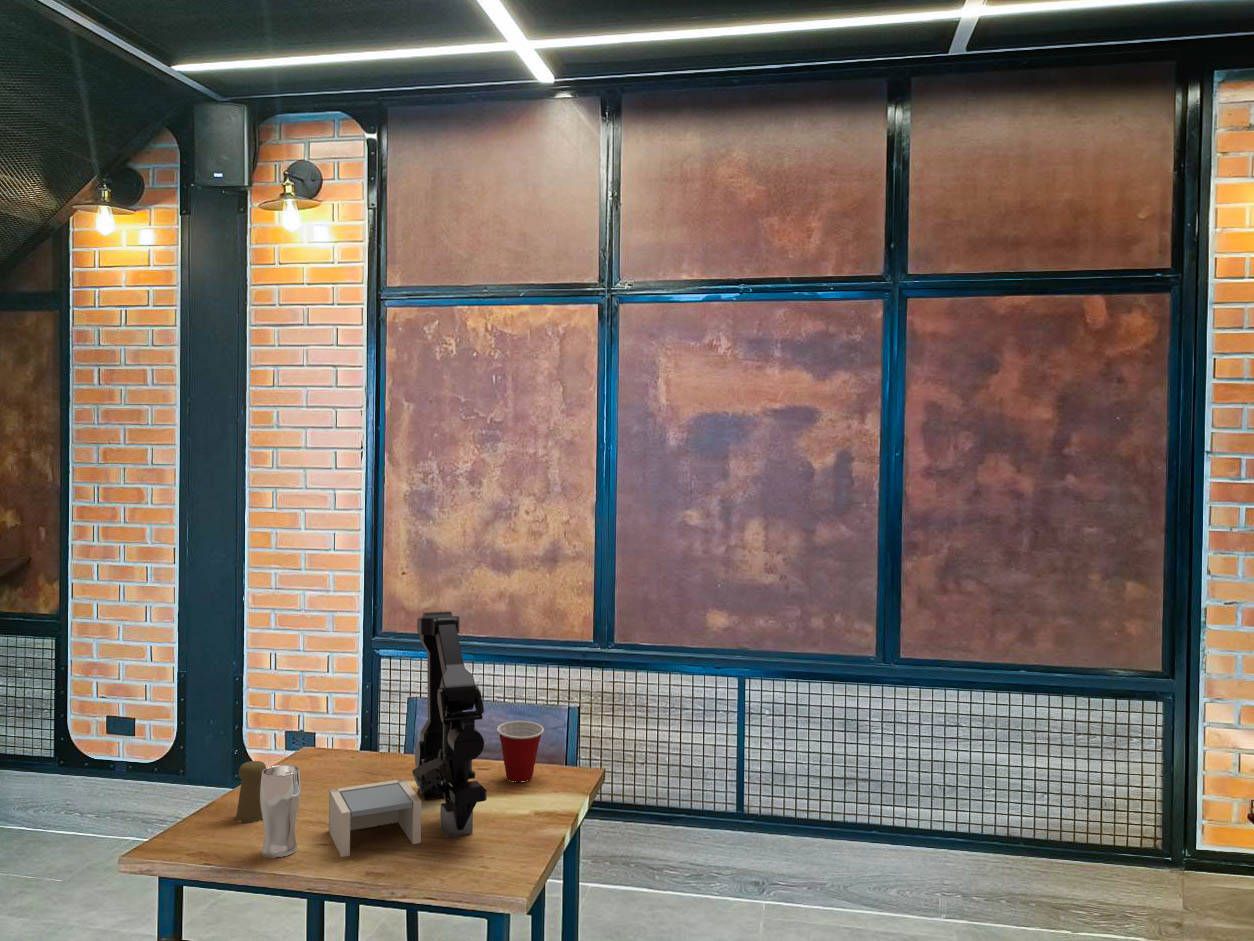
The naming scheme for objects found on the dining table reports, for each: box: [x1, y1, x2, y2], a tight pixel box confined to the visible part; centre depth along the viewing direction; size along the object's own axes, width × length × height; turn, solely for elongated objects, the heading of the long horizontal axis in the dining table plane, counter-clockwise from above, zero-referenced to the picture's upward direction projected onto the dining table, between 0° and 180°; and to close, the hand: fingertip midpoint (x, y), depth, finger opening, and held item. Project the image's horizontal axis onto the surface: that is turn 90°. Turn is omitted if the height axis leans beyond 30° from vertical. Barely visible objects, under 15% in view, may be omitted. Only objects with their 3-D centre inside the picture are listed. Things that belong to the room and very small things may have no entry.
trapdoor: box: [341, 784, 412, 817], centre depth 172 cm, size 12×11×1 cm
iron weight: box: [439, 802, 474, 839], centre depth 176 cm, size 5×5×5 cm
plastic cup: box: [496, 720, 545, 783], centre depth 206 cm, size 11×11×12 cm
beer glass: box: [260, 764, 301, 858], centre depth 165 cm, size 7×7×15 cm
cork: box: [235, 760, 267, 823], centre depth 181 cm, size 6×6×11 cm
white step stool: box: [328, 778, 422, 858], centre depth 172 cm, size 14×15×8 cm
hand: (456, 824), depth 176 cm, fingers closed on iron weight, 5 cm apart
